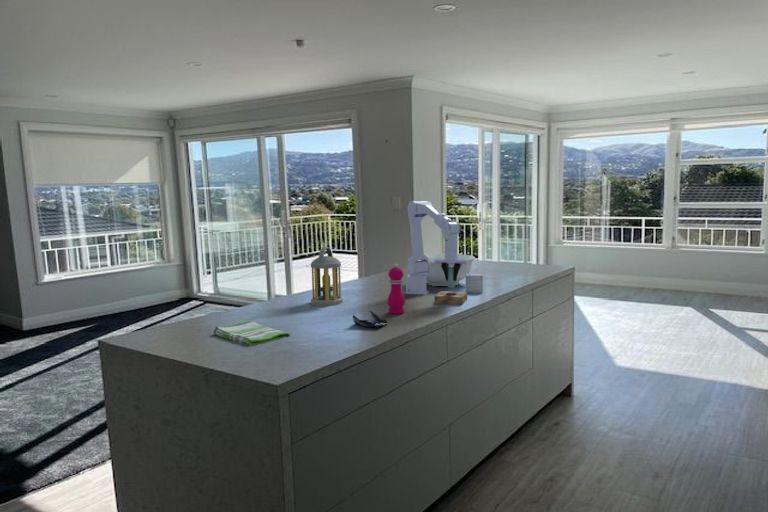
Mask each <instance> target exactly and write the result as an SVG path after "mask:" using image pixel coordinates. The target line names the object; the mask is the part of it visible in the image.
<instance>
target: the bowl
mask: <svg viewBox="0 0 768 512" xmlns="http://www.w3.org/2000/svg"><path fill="white" fill-rule="evenodd" d="M424 255H425V256H427V257H428V261H429V264H430V271H429V272H428V275H426V280H427V282H428V285H429V286H430V285H432V286H431V287H435V286H448V281H446V278H445V274H444V272H443V269H442V267H441V264H434V260H435V259H445V253H430V254H424ZM475 258H476V257H475V256H474V255H470V254H462V253H461V254H459V253H458V259H462V260H468V265H465V264H461V267H460V269H459V272H458V275H457V280H456V281H455V285H457V286H458V284H459V285H460V281H462V280H464V279H466V274H470V272H471V270H472V266H473V261H475ZM416 261H421V260H416ZM446 263H455V262H446ZM454 265H455V264H449V267H450V266H452V267H454Z"/></svg>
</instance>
